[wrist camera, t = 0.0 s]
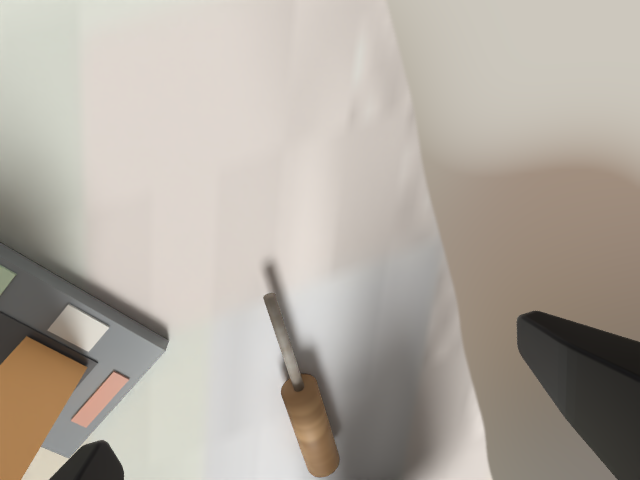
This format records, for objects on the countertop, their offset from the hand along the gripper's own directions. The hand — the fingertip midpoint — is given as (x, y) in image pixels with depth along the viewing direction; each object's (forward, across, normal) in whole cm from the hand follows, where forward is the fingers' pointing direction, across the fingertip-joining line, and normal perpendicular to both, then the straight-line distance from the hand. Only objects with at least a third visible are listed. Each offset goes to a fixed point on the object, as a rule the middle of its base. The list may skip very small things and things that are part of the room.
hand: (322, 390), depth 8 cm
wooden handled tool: (+15, +2, +12) cm, 19 cm away
